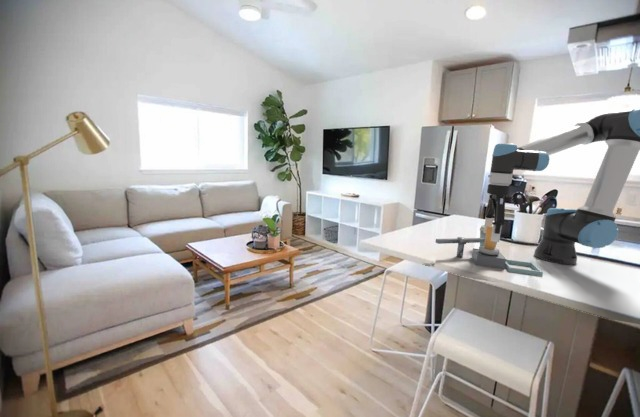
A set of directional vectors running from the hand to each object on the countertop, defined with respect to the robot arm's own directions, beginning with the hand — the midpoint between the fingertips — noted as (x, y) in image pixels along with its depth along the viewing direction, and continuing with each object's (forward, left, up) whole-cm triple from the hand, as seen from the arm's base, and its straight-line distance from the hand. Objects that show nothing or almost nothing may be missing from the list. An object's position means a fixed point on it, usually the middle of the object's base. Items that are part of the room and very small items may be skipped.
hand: (490, 237), depth 120 cm
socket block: (+4, 0, -12) cm, 12 cm away
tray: (-12, +1, -12) cm, 17 cm away
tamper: (0, 0, -11) cm, 11 cm away
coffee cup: (-4, -21, -12) cm, 25 cm away
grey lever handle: (+10, -3, -12) cm, 16 cm away
